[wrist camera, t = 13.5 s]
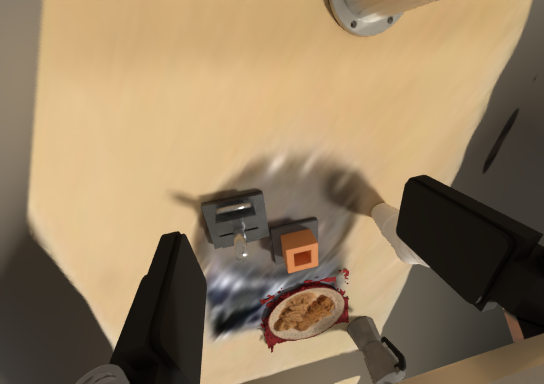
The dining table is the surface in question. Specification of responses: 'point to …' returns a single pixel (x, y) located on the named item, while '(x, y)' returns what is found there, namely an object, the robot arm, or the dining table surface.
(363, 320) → the coffeepot
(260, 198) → the grey peg stand
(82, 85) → the dining table surface
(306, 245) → the orange square tube
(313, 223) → the mat
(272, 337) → the plate with food
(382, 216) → the soft serve ice cream cone
